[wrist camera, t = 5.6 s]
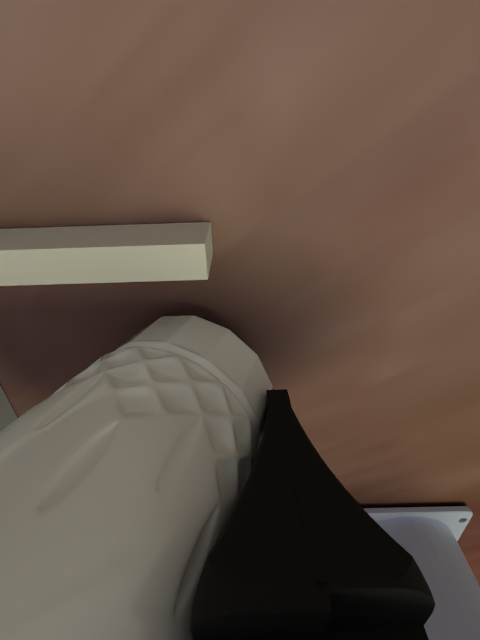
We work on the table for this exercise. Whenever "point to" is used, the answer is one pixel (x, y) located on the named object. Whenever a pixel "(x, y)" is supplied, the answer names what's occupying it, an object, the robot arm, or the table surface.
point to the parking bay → (102, 259)
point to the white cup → (127, 485)
